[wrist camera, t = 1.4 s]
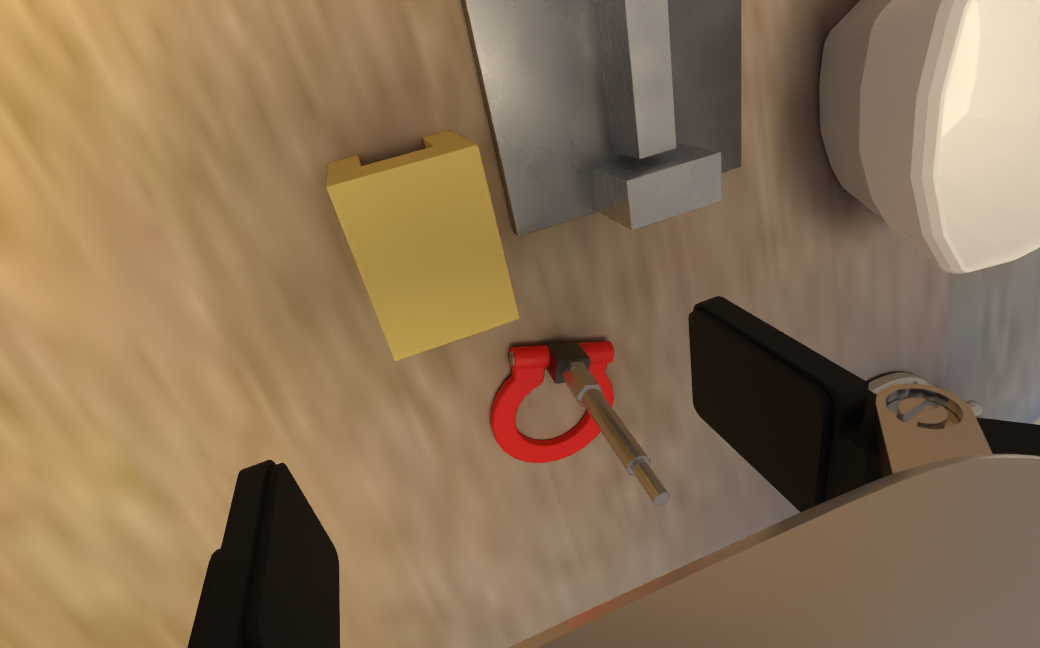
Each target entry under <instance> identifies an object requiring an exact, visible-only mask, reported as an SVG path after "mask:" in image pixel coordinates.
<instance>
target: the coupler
mask: <svg viewBox="0 0 1040 648" xmlns="http://www.w3.org/2000/svg"><path fill="white" fill-rule="evenodd" d="M461 1H462V5H463V9H464V14H465V18H466V23H467V27H468V32H469V36H470V40H471V45H472V49H473V54H474V58H475V63H476V67H477V71H478V76H479V80H480V85H481V89H482V94H483V98H484V102H485V107H486V111H487V116H488V120H489V125H490V129H491V133H492V138H493V142H494V147H495V151H496V155H497V160H498V164H499V169H500V173H501V178H502V182H503V186H504V191H505V195H506V200H507V204H508V209H509V213H510V217H511V222H512V226H513V231H514V233H515V234H516V235H517V236H521V235H525V234H528V233H531V232H534V231H537V230H541V229H544V228H547V227H550V226H553V225H556V224H560V223H563V222H566V221H569V220H572V219H575V218H579V217H582V216H585V215H588V214H591V213H595V212H599V213H601V214H603V215H605V216H607V217H608V218H610V219H612V220H614V221H616V222H618V223H620V224H621V225H623V226H625V227H627V228H629V229H631V230H634V229H637V228H640V227H643V226H646V225H649V224H652V223H655V222H658V221H662V220H665V219H668V218H671V217H674V216H677V215H680V214H683V213H686V212H689V211H692V210H695V209H698V208H701V207H705V206H708V205H711V204H714V203H717V202H720V201H722V176H721V173H722V172H725V171H728V170H731V169H734V168H738V167H741V0H461Z"/></svg>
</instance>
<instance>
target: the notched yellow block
mask: <svg viewBox="0 0 1040 648" xmlns="http://www.w3.org/2000/svg"><path fill="white" fill-rule="evenodd" d="M423 141H424V145H425V148H426V149H422V150H419V151H415V152H411V153H408V154H404V155H400V156H397V157H393V158H390V159H386V160H382V161H379V162H375V163H371V164H368V165H364V166H362V165H361V163H360V160H359V157H358V155H356V156H353V157H349V158H345V159H341V160H338V161H334V162H330V163H329V165H328V174H327V183H326V188H327V191H328V193H329V196H330V198H331V201H332V203H333V206H334V208H335V211H336V213H337V216H338V218H339V221H340V224H341V226H342V229H343V231H344V234H345V236H346V239H347V241H348V244H349V246H350V249H351V251H352V254H353V256H354V259H355V261H356V264H357V267H358V269H359V272H360V274H361V277H362V279H363V282H364V284H365V287H366V289H367V292H368V294H369V297H370V299H371V302H372V304H373V307H374V310H375V312H376V315H377V317H378V320H379V322H380V325H381V327H382V330H383V332H384V335H385V337H386V340H387V342H388V345H389V348H390V350H391V353H392V355H393V358H394V360H395V361H398V360H401V359H404V358H407V357H410V356H412V355H415V354H418V353H421V352H424V351H427V350H430V349H433V348H436V347H439V346H442V345H444V344H447V343H450V342H453V341H456V340H459V339H462V338H465V337H468V336H471V335H474V334H477V333H479V332H482V331H485V330H488V329H491V328H494V327H497V326H500V325H503V324H506V323H509V322H511V321H514V320H517V319H520V318H519V314H518V310H517V306H516V301H515V297H514V293H513V289H512V285H511V281H510V276H509V272H508V268H507V264H506V260H505V256H504V252H503V247H502V243H501V239H500V235H499V231H498V227H497V223H496V218H495V214H494V210H493V206H492V202H491V198H490V193H489V189H488V185H487V181H486V177H485V173H484V169H483V164H482V160H481V156H480V152H479V148H478V145H477V144H475V143H473V142H471V141H470V140H468V139H466V138H464V137H462V136H460V135H458V134H456V133H454V132H453V131H451V130H448V131H445V132H441V133H437V134H434V135H430V136H426V137H423Z"/></svg>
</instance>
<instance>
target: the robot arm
mask: <svg viewBox="0 0 1040 648" xmlns="http://www.w3.org/2000/svg"><path fill="white" fill-rule="evenodd" d="M689 337H690V355H691V374H692V393H693V404H694V407H695V410H696V412H697V413H698V415H699V416H700V417H701V418H702V419H703V420H704V421H705V422H706V423H707V424H708V425H709V426H710V427H711V428H713V429H714V430H715V431H716V432H717V433H718V434H719V435H720V436H721V437H722V438H723V439H724V440H725V441H726V442H727V443H728V444H729V445H730V446H731V447H733V448H734V449H735V450H736V451H737V452H738V453H739V454H740V455H741V456H742V457H743V458H744V459H745V460H746V461H747V462H748V463H749V464H750V465H751V466H753V467H754V468H755V469H756V470H757V471H758V472H759V473H760V474H761V475H762V476H763V477H764V478H765V479H766V480H767V481H768V482H769V483H770V484H771V485H773V486H774V487H775V488H776V489H777V490H778V491H779V492H780V493H781V494H782V495H783V496H784V497H785V498H786V499H787V500H788V501H789V502H790V503H791V504H793V505H794V506H795V507H796V508H797V509H798V510H799V511H800V512H801V513H799V514H797V515H795V516H792V517H790V518H788V519H786V520H784V521H781V522H779V523H777V524H775V525H773V526H770V527H768V528H766V529H764V530H762V531H759V532H757V533H755V534H753V535H751V536H749V537H746V538H744V539H742V540H740V541H738V542H735V543H733V544H731V545H729V546H727V547H724V548H722V549H720V550H718V551H716V552H713V553H711V554H709V555H707V556H705V557H702V558H700V559H698V560H696V561H694V562H692V563H689V564H687V565H685V566H683V567H681V568H679V569H676V570H674V571H672V572H670V573H668V574H666V575H664V576H661V577H659V578H657V579H655V580H653V581H651V582H648V583H646V584H644V585H642V586H640V587H638V588H635V589H633V590H631V591H629V592H627V593H625V594H622V595H620V596H618V597H616V598H614V599H612V600H610V601H607V602H605V603H603V604H601V605H599V606H597V607H594V608H592V609H590V610H588V611H586V612H584V613H582V614H579V615H577V616H575V617H573V618H571V619H569V620H566V621H564V622H562V623H560V624H558V625H556V626H554V627H551V628H549V629H547V630H545V631H543V632H541V633H539V634H537V635H534V636H532V637H530V638H528V639H526V640H524V641H522V642H520V643H517V644H515V645H513V646H511V647H509V648H1040V425H1035V424H1027V423H1018V422H1010V421H1002V420H993V419H985V418H983V417H981V416H979V415H980V414H981V413H982V407H981V406H980V404H979V403H977V402H976V401H973V400H969V401H966V402H965V401H964V400H962V399H961V398H960V397H958V396H957V395H955V394H952V393H950V392H948V391H946V390H944V389H940V388H937V387H933V386H931V385H930V384H929V383H928V382H927V381H926V380H924V379H922V378H920V377H918V376H916V375H914V374H910V373H893V374H889V375H885V376H882V377H880V378H878V379H875V380H873V381H871V382H869V383H868V382H866V381H864V380H862V379H861V378H859V377H857V376H856V375H854V374H852V373H851V372H849V371H847V370H845V369H844V368H842V367H840V366H839V365H837V364H835V363H834V362H832V361H830V360H828V359H827V358H825V357H823V356H822V355H820V354H818V353H817V352H815V351H813V350H811V349H810V348H808V347H806V346H805V345H803V344H801V343H800V342H798V341H796V340H794V339H793V338H791V337H789V336H788V335H786V334H784V333H783V332H781V331H779V330H777V329H776V328H774V327H772V326H771V325H769V324H767V323H766V322H764V321H762V320H760V319H759V318H757V317H755V316H754V315H752V314H750V313H749V312H747V311H745V310H743V309H742V308H740V307H738V306H737V305H735V304H733V303H732V302H730V301H728V300H726V299H725V298H723V297H720V296H717V297H714V298H711V299H709V300H706V301H703V302H700V303H698V304H696V305H695V306H694V309H693V312H691V313H690V314H689ZM188 648H340V610H339V560H338V555H337V552H336V549H335V547H334V545H333V543H332V542H331V540H330V538H329V536H328V535H327V533H326V531H325V530H324V528H323V526H322V525H321V523H320V521H319V520H318V518H317V516H316V515H315V513H314V511H313V510H312V508H311V506H310V504H309V503H308V501H307V499H306V498H305V496H304V494H303V493H302V491H301V489H300V488H299V486H298V484H297V483H296V481H295V479H294V478H293V476H292V474H291V472H290V471H289V469H288V467H287V466H286V465H285V464H284V463H280V464H277V465H276V464H275V463H274V462H273V461H272V460H267V461H264V462H262V463H259V464H256V465H253V466H251V467H248V468H245V469H243V470H241V471H240V472H239V474H238V478H237V482H236V486H235V491H234V495H233V499H232V503H231V508H230V512H229V516H228V520H227V525H226V529H225V533H224V537H223V542H222V546H221V549H218V550H216V551H215V552H214V553H213V554H212V556H211V559H210V561H209V565H208V569H207V573H206V577H205V580H204V584H203V588H202V592H201V596H200V600H199V604H198V608H197V612H196V616H195V620H194V624H193V628H192V632H191V636H190V640H189V644H188Z"/></svg>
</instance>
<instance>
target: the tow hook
mask: <svg viewBox="0 0 1040 648" xmlns="http://www.w3.org/2000/svg"><path fill="white" fill-rule="evenodd" d="M613 358H614V348H613V345H612V343H611V342H610V341H603V342H587V343H578V342H561V343H547V344H545V345H539V346H523V347H511V348H510V351H509V363H510V367H511V369H512V373H511V376H510V377H509V378H508V379H507V380H506V381H505V382H504V384H503V385H502V387H501V388H500V390H499V391H498V393H497V394H496V396H495V399H494V402H493V405H492V408H491V426H492V430H493V433H494V436H495V439H496V441H497V443H498V444H499V445H500V447H501V448H502V449H503V450H504V452H506V453H507V454H509V455H511V456H512V457H514V458H515V459H519V460H522V461H525V462H533V463H544V462H550V461H556V460H559V459H562V458H565V457H567V456H570V455H572V454H574V453H575V452H577V451H579V450H580V449H582V448H584V447H585V446H586V445H587V444H589V443H590V442H591V441H592V440H593V439H594V438H595V437H596V436H597V435H598V434H599V432H600V431H601V432H602V434H603V435H604V437H605V438H606V440H607V441H608V443H609V444H610V446H611V447H612V449H613V450H614V452H615V453H616V455H617V456H618V458H619V460H620V461H621V463H622V464H623V466H624V467H625V469H626V470H627V472H628V473H629V474H630V475H635V476H636V477H637V479H638V480H639V482H640V483H641V485H642V486H643V488H644V489H645V491H646V492H647V494H648V495H649V497H650V498H651V499H652V501H653V502H654V504H655V505H657V506H661V505H664V504H666V503H667V502H668V500H669V498H670V495H669V493H668V492H667V490H666V489H665V488H664V486H663V485H662V483H661V482H660V481H659V479H658V478H657V476H656V475H655V474H654V472H653V471H652V469H651V468H650V467H649V465H650V459H649V458H648V456H647V455H646V454H645V452H644V451H643V449H642V448H641V447H640V445H639V444H638V443H637V441H636V440H635V438H634V437H633V436H632V434H631V433H630V432H629V430H628V429H627V428H626V426H625V425H624V423H623V422H622V421H621V419H620V418H619V417H618V415H617V414H616V412H615V411H614V410H613V408H612V406H613V400H614V396H613V389H612V385H611V383H610V381H609V379H608V377H607V375H606V373H605V372H606V367H607V363H610V362H612V361H613ZM545 368H546V369H547V370H548V372H549V374H550V375H551V377H552V379H553V380H554V382H555V383H566V384H567V386H568V387H569V389H570V390H571V392H572V393H573V395H574V397H575V398H576V400H577V401H578V403H579V404H580V406H582V407H585V408H586V409H587V411H586V414H585V416H584V417H583V418H582V420H581V421H580V422H579V423H578V424H577V425H576V426H575V427H574V428H573V429H572V430H570V431H569V432H567V433H565V434H564V435H562V436H559V437H556V438H554V439H548V440H534V439H531V438H528V437H526V436H524V435H523V434H521V433H520V432H519V431H518V429H517V428H516V425H515V417H516V412H517V410H518V407H519V405H520V403H521V402H522V400H523V399H524V397H525V396H526V395H527V394H528V393H530V392H531V391H532V390H533V389H534V388H536V387H538V386H539V385H541V383H542V382H543V378H544V371H545Z"/></svg>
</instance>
